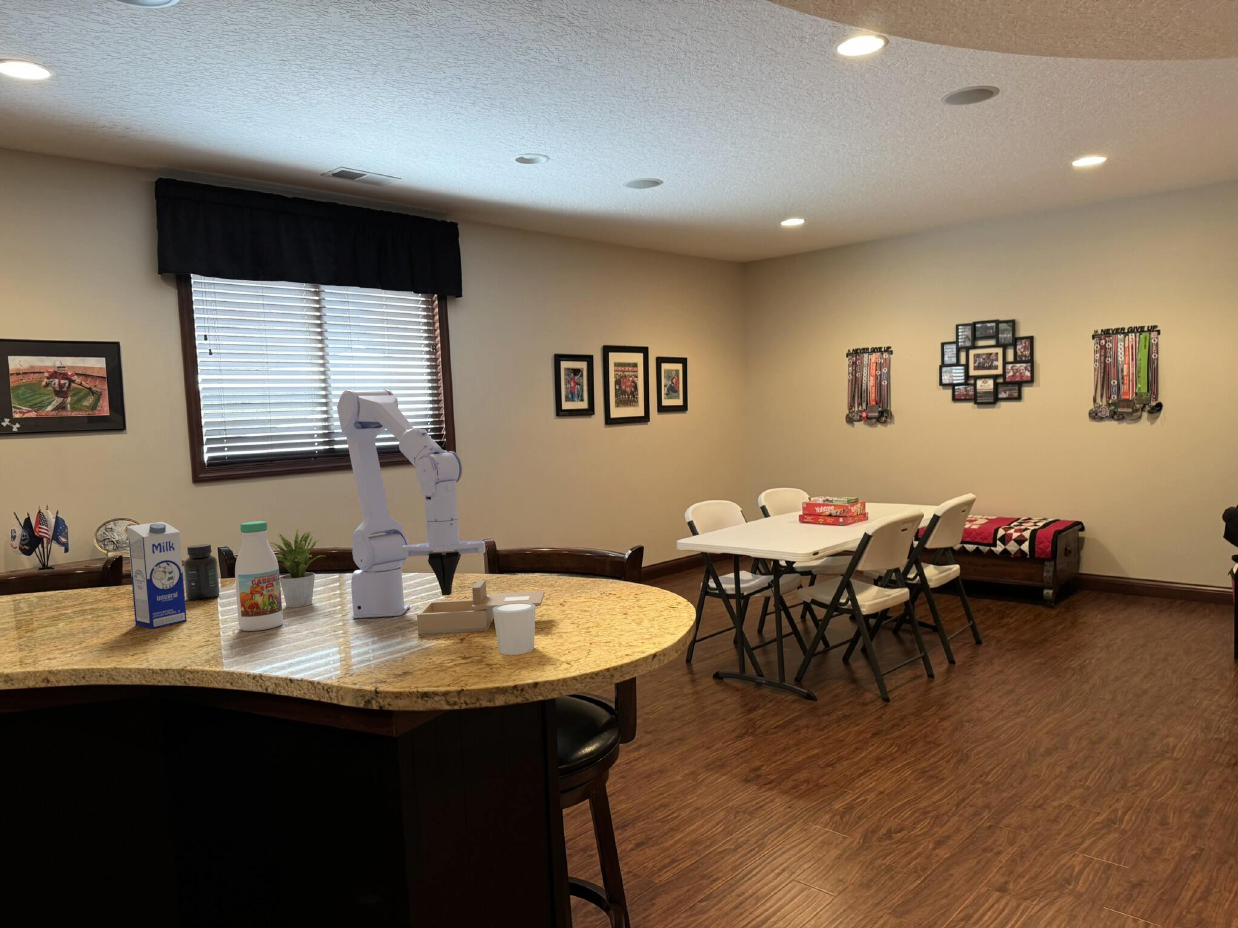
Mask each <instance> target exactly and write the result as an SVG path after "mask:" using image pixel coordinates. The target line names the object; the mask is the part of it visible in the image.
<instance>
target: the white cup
mask: <svg viewBox="0 0 1238 928" xmlns="http://www.w3.org/2000/svg"><path fill="white" fill-rule="evenodd" d="M536 607H537V606H535V605H534V604H531V603H508V604H503V605H499V606H496V607H494V608H493V615H494V618H493V621H494V622H493V623H494V627H495V632H496V633H495V635H496V641H497V646H498V647H497V648H498V654H499V653H500V654H501V655H505V656H506V655H507V656H516V655H517V656H518V655H524V654H528V653H531V652H532V651H534V650H535V636H536V630H535V629H536V626H535V625H536Z"/></svg>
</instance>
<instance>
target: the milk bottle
mask: <svg viewBox="0 0 1238 928" xmlns="http://www.w3.org/2000/svg"><path fill="white" fill-rule="evenodd" d="M239 527H240V532H241V533H240V535H241V536H242V542H241V546H240V549H239V551H238V555H237V558H236V561H235V566H234V580H235V591H236V592H235V594H236V607H237V616H238V617H237V619H238V628H239V629H240V630H241V631H242V632H243V631H245V632H257V631H265V630H269V629H273V628H277V627H280V626H281V625H282V624H283V620H284V618H283V615H284V613H283V602H282V587H281V582H280V577H281V576H280V570H279V569H280V568H279V567H280V566H279V564H278V563H279V562H278V560H277V558H276V556H275V555H276V554H275V552H274V551H273V549H272V548H271V547H272V546H270V545H271V544H270V542H269V541H268V538H267V533H268V524H267V521H266V520H265V521H263V520H261V521H260V520H258V521H257V520H256V521H249V522H243V523H241V524H240V526H239ZM268 542H269V543H268Z"/></svg>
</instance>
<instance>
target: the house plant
mask: <svg viewBox="0 0 1238 928" xmlns="http://www.w3.org/2000/svg"><path fill="white" fill-rule="evenodd" d="M312 533H313V534H312ZM314 534H315V533H314V530H311V531H310V530H309V531H307V532H305V533H303V534H302V536H300V535H299V529H297V530H296V531H295V535H294V536H295V537H294V540H293V544H292V542H291V541H290V540H288V539H287V538H286V537H285V536H283V535H282V534H281V533H279V534H276V536H277V537H278V538H280V540H281V542H282V544H283V546H284V547H283V546H282V545H280V544H278V543H276V542H269V541H268V543H269V545H270V547H273V548H274V549H277V550H279V551H280V552H282V553H283V554H282V553H279V554H275V556H276V558H277V561H280V562H283V563H279V562H278V565H279V567H283V568H282V570H283V571H285V570H284V569H286V571H287V572H288V573H287V574H284V575H281V576H280V587H281V591H282V594H283V598H284V602H285V606H286V607H287V608H300V607H301V608H302V607H307V606H310V605H312V604H313V597H314V588H315V586H314V585H315V579H316V578H315V577H316V573H314V572H307V571H306V569H307V568H308V567H309V565H310V564H311V563H312V562H314V560H316V559H318V558H321V557H327V556H326V555H325V554H324V555H322V554H321V555H318V556H315V557H314V558H313V557H312V554H310V552H311V551H312V550H313V549H314V547H315V546H316V544H317V543H318V542H319V541H320V540H321V538H319V539H318V536H317V537H316V538H315V539H314V541H313V537H314ZM299 536H300V539H299ZM310 536H311V537H310ZM309 538H310V539H309ZM317 539H318V540H317ZM312 541H313V543H312V544H311V542H312ZM271 544H272V545H271ZM310 544H311V546H310ZM275 546H276V547H275ZM309 546H310V547H309ZM309 558H312V559H309ZM327 559H328V557H327Z"/></svg>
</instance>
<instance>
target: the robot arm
mask: <svg viewBox="0 0 1238 928" xmlns="http://www.w3.org/2000/svg"><path fill="white" fill-rule="evenodd" d="M336 409H337V410H336V411H337V415H338V419H339V426H340V429H341V430H340V431H341V434H342V435H343V436H344V437H346V441H347V446H348V451H349V458H350V463H351V469H352V472H353V478H354V483H355V489H356V493H357V498H358V502H359V508H360V512H361V518H362V522H361V523H360V524H359V526H358V527H356V529H355V530H354V531H353V533H352V534H351V536H352V551H351V552H352V559H353V561H354V563H355V565H356V566H357V567H358V568H359V569H356V570H354V571H353V573H352V576H351V580H350V581H351V587H350V589H351V601H352V614H353V615H352V616H351V617H352V618H353V619H363V618H365V619H366V618H379V617H380V618H383V617H397V616H402V615H404V613H405V612H406V611H407V610H408V609H409V608H410V606H411V604H405V600H404V584H403V568H402V567H405V566H406V565H405V564H406V563H405V562H406V561H407V560H408V559H409V558H410V557H422V556H423V557H424V556H425V557H426V556H428V559H427V562H428V565H429V566H430V568H431V570H432V571H433V572H434V575H435V577H436V579H437V582H438V584H439V587H440V592H441V596H442V597H443V596H444V597H445V596H451V594H452V593H453V592H452V591H453V582H454V577H455V574H456V569H457V567H458V564H459V561H460V559H461V557H462V554H466V555H467V554H485V553H486V542H485V541H484V540H481V541H480V540H479V541H478V540H477V541H476V540H475V541H474V540H472V541H470V540H469V541H462V540H461V539H460V526H459V525H460V524H459V523H460V522H459V507H458V489H457V483H458V482H459V481H460V480H461V479H462V476H463V465H462V461H461V458H460V457H459V455H457V453H456V452H455V451H452V450H451V451H447V450H446V449H445V450H444V449H442V448H441V446H440V445H439V444H438V443H437V442H435V440H434V439H433V438H432V437H431V435H429V434H428V431H427V430H426V429H425V428H420V427H415V428H414V427H413V425H412V424H411V423H410V421H409V420H408V419H407V418H406V417H405V415H404V414H403V412H402V411H401V410H400V409H399V401H398V398H397V396H395V394H394V393H393V392H392V391H391V390H389V389H383V390H381V389H380V390H378V389H377V390H351V389H346V390H344V391H343V392H342V393H341V395H340V397H339V400H338V403H337V406H336ZM385 430H387V432H389V433H390V434H391V435H392V436H393V437H394V438H396V439H397V440H398V441H399V442H398V449H399V451H400V453H401V454H403V455H404V457H405V458H406V459H408V460H409V462H410V463H411V464H412V465H413V466H414V467H415V468H416V470H415V475H416V478H417V481H418V483H419V484H420V492H421V495H422V496H423V497H424V508H425V524H426V543H416V544H410V541H409V538H407V536H406V533H405V529H404V526H403V523H401V522H399V521H397V520H396V519H395V518H393V517H391V516H390V515H391V514H390V510H389V506H388V501H387V496H386V495H387V494H386V491H385V490H386V489H385V486H384V485H385V484H384V480H383V475H382V470H381V465H380V461H379V455H378V450H377V445H376V439H377V437H378V436H379V435H381V434H382V433H384V431H385ZM378 534H379V535H378ZM460 540H461V541H460Z"/></svg>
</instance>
